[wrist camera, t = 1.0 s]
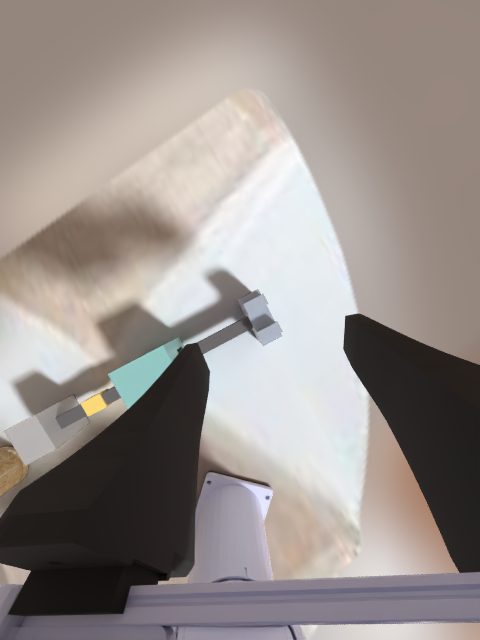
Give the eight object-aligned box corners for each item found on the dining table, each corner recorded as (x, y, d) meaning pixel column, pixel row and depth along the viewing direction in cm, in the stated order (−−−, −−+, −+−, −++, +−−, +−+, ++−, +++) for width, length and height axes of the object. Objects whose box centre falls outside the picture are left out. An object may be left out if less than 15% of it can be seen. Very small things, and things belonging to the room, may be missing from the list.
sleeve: (178, 336, 23) (162, 345, 17) (196, 368, 23) (186, 387, 17) (137, 358, 22) (107, 374, 17) (155, 390, 23) (132, 416, 17)
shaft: (250, 313, 22) (251, 313, 20) (256, 325, 22) (258, 326, 20) (50, 418, 21) (37, 426, 20) (57, 430, 21) (45, 439, 20)
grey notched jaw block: (253, 293, 23) (259, 287, 18) (273, 331, 24) (285, 337, 19) (237, 301, 23) (240, 298, 18) (257, 340, 24) (266, 348, 19)
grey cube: (73, 394, 23) (34, 414, 18) (89, 422, 23) (56, 449, 19) (44, 409, 23) (-2, 433, 18) (61, 437, 23) (20, 468, 18)
